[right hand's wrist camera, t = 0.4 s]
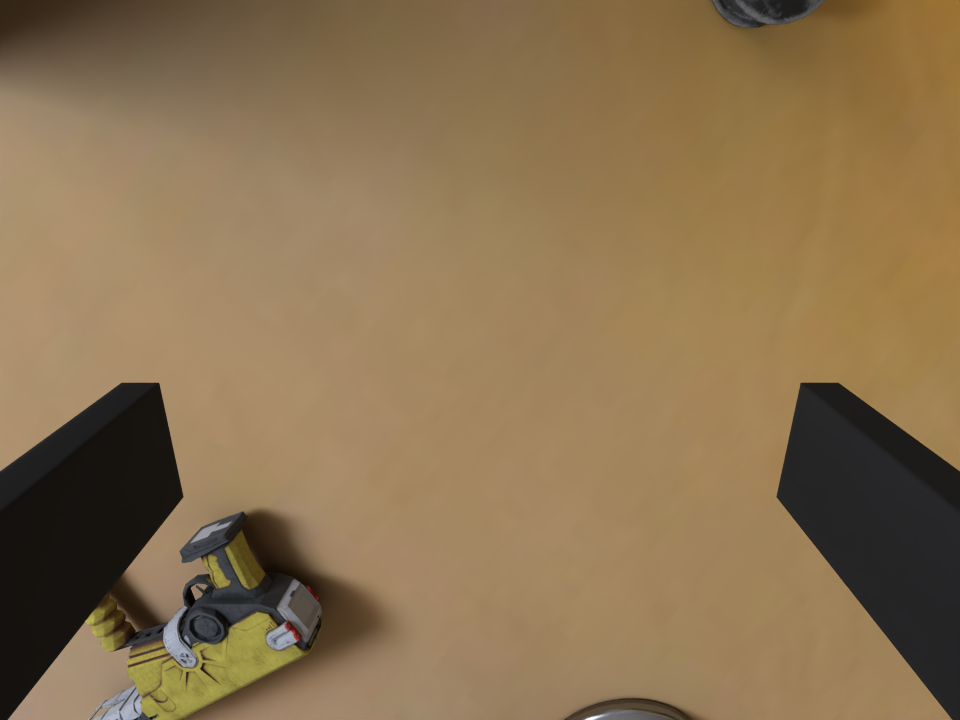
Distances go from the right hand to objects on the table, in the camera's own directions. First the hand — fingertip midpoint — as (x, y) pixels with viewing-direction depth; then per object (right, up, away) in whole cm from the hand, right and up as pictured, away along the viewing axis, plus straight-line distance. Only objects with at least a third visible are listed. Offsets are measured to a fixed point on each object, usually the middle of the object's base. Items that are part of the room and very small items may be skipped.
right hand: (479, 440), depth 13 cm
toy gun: (-26, -19, +38) cm, 49 cm away
